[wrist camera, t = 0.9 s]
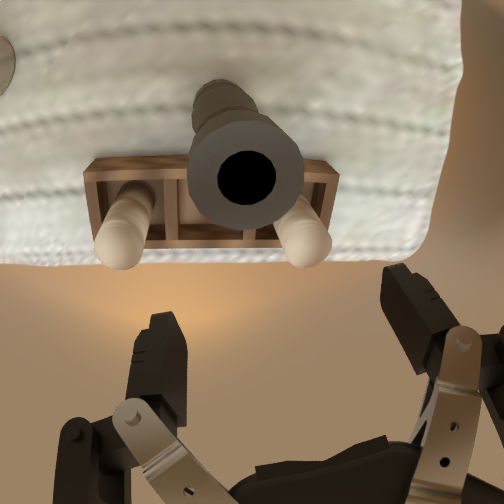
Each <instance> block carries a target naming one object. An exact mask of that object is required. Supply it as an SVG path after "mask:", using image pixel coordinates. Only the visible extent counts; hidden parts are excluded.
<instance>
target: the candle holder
mask: <svg viewBox="0 0 504 504" xmlns="http://www.w3.org/2000/svg"><path fill="white" fill-rule="evenodd" d="M193 109H194V110H193V112H192V126H193V130H194V131H195V133H196V135H195V136H194V139H193V142H192V145H191V148H190V152H189V156H188V164H187V172H186V174H187V183H188V191H189V196H190V197H191V199H192V201H193V202H194V204H195V206H196V207H197V209H198V211H199V212H200V213H201V214H202V215H203V216H205V217H206V218H208V219H209V220H210V221H212V222H213V223H215V224H216V225H218V226H222V227H226V228H230V229H234V230H237V231H239V230H250V229H260V228H262V227H264V226H266V225H269V224H271V223H273V222H275V221H277V220H279V219H280V218H281V217H283V216H284V215H285V214H286V213H287V212H288V211H289V210H290V209H291V208H292V207H293V206H294V205H295V203H296V201H297V199H298V197H299V195H300V193H301V190H302V188H303V186H304V171H305V164H304V161H303V159H302V156H301V154H300V151H299V149H298V146H297V144H296V143H295V142H294V141H293V140H292V139H291V138H290V137H289V136H288V135H287V134H286V133H285V132H284V131H283V130H282V129H281V128H280V127H278V126H277V125H276V124H275V123H274V122H273V121H272V120H271V119H270V118H269V117H268V116H265V115H262V114H260V113H258V109H257V107H256V105H255V103H254V101H253V99H252V98H251V97H250V96H249V95H247V94H246V93H245V92H244V91H243V90H242V89H241V88H239V87H238V86H237V85H236V84H235V83H233V82H230V81H227V80H213V81H211V82H209V83H207V84H205V85H204V86H203V87H202V88H201V89H200V90H199V91H198V92H197V95H196V98H195V100H194V104H193Z"/></svg>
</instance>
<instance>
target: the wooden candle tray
mask: <svg viewBox="0 0 504 504" xmlns="http://www.w3.org/2000/svg"><path fill="white" fill-rule="evenodd" d="M303 161H304V164H305V171H304V186H303V188H302V190H301V193H300V195H299V197H298V199H297V201H296V203H295V205H294V206H293V207H292V208H291V209H290V210H289V211H288V212H287V213H286V214H285V215H284V216H283V217H281V218H280V219H279V220H277V221H275V222H273V223H271V224H269V225H266V226H264V227H262V228H260V229H250V230H239V231H237V230H234V229H230V228H226V227H222V226H218V225H216V224H215V223H213V222H212V221H210V220H209V219H208V218H206V217H205V216H203V215H202V214H201V213H200V212H199V211H198V209H197V207H196V206H195V204H194V202H193V201H192V199H191V197H190V196H189V191H188V183H187V174H186V172H187V164H188V156H141V157H118V158H101V159H95V160H94V161H93V162H92V163H91V164H90V165H89V166H88V168H87V169H86V170H85V171H84V172H83V176H84V184H85V191H86V198H87V205H88V211H89V218H90V223H91V229H92V235H93V240H94V251H95V254H96V256H97V258H98V259H99V260H100V261H101V262H102V263H103V264H104V265H106V266H108V267H110V268H112V269H116V270H126V269H130V268H132V267H134V266H135V265H136V264H138V262H139V261H140V259H141V257H142V253H143V249H168V248H283V250H284V253H285V255H286V258H287V260H288V261H289V262H290V263H291V264H293V265H294V266H297V267H301V268H308V267H312V266H315V265H317V264H319V263H320V262H322V261H323V260H324V259H325V258H326V257H327V256H328V255H329V253H330V251H331V248H332V239H331V236H330V234H329V233H328V228H329V223H330V219H331V214H332V210H333V205H334V200H335V196H336V191H337V186H338V181H339V176H340V174H339V173H337V172H336V171H335V170H334V169H333V168H332V167H331V166H330V165H329V164H328V163H327V162H326V161H316V160H303Z"/></svg>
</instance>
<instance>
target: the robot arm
mask: <svg viewBox="0 0 504 504" xmlns="http://www.w3.org/2000/svg"><path fill="white" fill-rule="evenodd" d="M14 67H15V57H14V52H13V49H12V46H11V45H10V43H9V42H8V41H7V40H6V39H4V38H2V37H0V95H1V94H2V93H3V92H4V91H5V90H6V88H7V87H8V85H9V83H10V81H11V79H12V76H13V72H14ZM380 302H381V307H382V310H383V312H384V314H385V316H386V318H387V320H388V321H389V323H390V325H391V327H392V329H393V330H394V332H395V334H396V336H397V338H398V340H399V342H400V344H401V345H402V347H403V349H404V351H405V353H406V355H407V357H408V359H409V360H410V363H411V365H412V366H413V369H414V371H415V372H416V375H419V374H422V373H425V372H427V374H428V376H429V379H428V382H427V386H426V390H425V393H424V397H423V401H422V405H421V408H420V412H419V415H418V419H417V422H416V424H415V427H414V429H413V431H412V434H411V436H410V439H409V441H408V443H406V442H399V441H389V442H388V440H387V437H386V435H383V436H380V437H377V438H374V439H371V440H368V441H365V442H362V443H358V444H355V445H353V446H352V447H350V448H348V449H346V450H344V451H342V452H341V453H339V454H337V455H335V456H333V457H331V458H329V459H327V460H324V461H284V462H278V463H273V464H267V465H260V466H255V470H256V473H255V474H252V475H250V476H248V477H246V478H244V479H243V480H241V481H240V482H238V483H237V484H236V485H234V487H232V488H231V489H230V490H227V489H226V488H225V487H224V486H223V485H222V484H221V483H220V482H219V481H218V480H217V479H216V478H215V477H214V476H213V475H212V474H211V473H210V472H209V471H208V470H207V469H206V468H205V467H204V466H203V465H202V464H201V463H200V462H199V461H198V460H197V459H196V458H195V457H194V456H193V455H192V453H191V452H190V451H189V450H188V449H187V448H186V447H185V446H184V445H183V444H182V442H181V441H180V440H179V439H178V438H177V427H185V426H186V425H187V424H186V422H187V416H186V415H187V414H186V413H187V410H186V409H187V358H188V350H187V344H186V340H185V338H184V335H183V333H182V331H181V329H180V327H179V325H178V323H177V320H176V318H175V316H174V314H173V313H172V312H171V311H170V312H163V313H157V314H152V316H151V319H150V325H149V329H145V330H141V332H140V334H139V336H138V337H137V338H136V340H135V343H134V349H133V355H132V360H131V363H132V364H131V366H130V372H129V378H128V385H127V391H126V397H125V400H124V401H123V402H121V403H120V404H119V405H118V406H117V407H116V409H115V411H114V412H113V415H112V416H110V417H108V418H105V419H102V420H99V421H96V422H93V423H90V422H89V421H88V420H86V419H85V418H81V417H76V418H72V419H70V420H69V421H67V422H66V423H65V425H64V426H63V428H62V430H61V433H60V439H59V445H58V453H57V461H56V470H55V480H54V492H53V504H131V468H134V467H137V466H140V465H141V467H142V468H143V470H144V472H143V474H144V476H145V478H146V479H147V481H148V482H149V484H150V485H151V486H152V487H153V489H154V490H155V491H156V493H157V494H158V495H159V496H160V497H161V499H162V500H163V501H164V502H165V503H166V504H504V491H503V490H501V489H499V488H497V487H495V486H493V485H491V484H489V483H487V482H485V481H483V480H481V479H479V478H477V477H475V476H473V475H471V474H469V473H467V471H468V467H469V463H470V459H471V455H472V451H473V446H474V442H475V437H476V432H477V426H478V421H479V415H480V409H481V402H482V398H483V400H484V403H485V405H486V407H487V409H488V411H489V413H490V416H491V418H492V420H493V423H494V425H495V427H496V430H497V432H498V434H499V437H500V439H501V442H502V445H503V447H504V326H502V328H501V330H500V332H499V334H487V335H479V334H478V333H477V332H476V331H475V330H474V329H472V328H470V327H467V326H461V325H460V324H459V322H458V321H457V319H456V318H455V316H454V315H453V314H452V312H451V311H450V310H449V308H448V307H447V305H446V304H445V302H444V301H443V300H442V298H440V296H439V294H438V293H437V292H436V291H435V290H434V288H433V286H432V285H431V284H430V282H429V281H428V280H427V279H426V278H424V277H423V276H421V275H420V274H418V273H413V274H412V273H411V272H410V271H409V269H408V268H407V267H406V265H405V264H404V263H399V264H395V265H390V266H387V267H384V269H383V274H382V284H381V293H380ZM478 390H479V392H480V393H479V392H478Z"/></svg>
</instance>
